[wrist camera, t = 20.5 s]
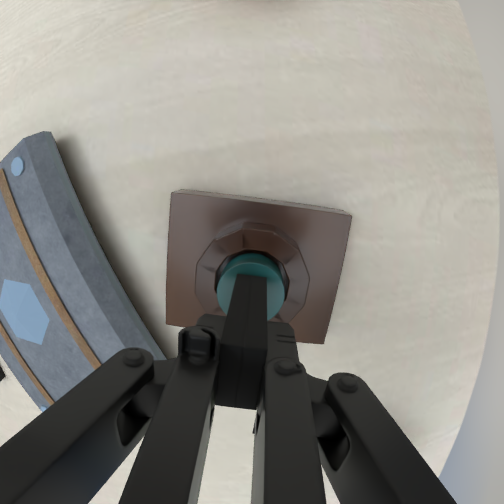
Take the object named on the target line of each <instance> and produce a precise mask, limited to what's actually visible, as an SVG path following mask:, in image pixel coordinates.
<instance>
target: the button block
mask: <svg viewBox="0 0 504 504" xmlns="http://www.w3.org/2000/svg"><path fill="white" fill-rule="evenodd" d="M351 219H352V216H351V215H350V214H348V213H347V212H345V211H343V210H338V209H331V208H325V207H319V206H312V205H305V204H298V203H291V202H284V201H277V200H269V199H262V198H254V197H246V196H238V195H229V194H220V193H211V192H202V191H192V190H182V189H181V190H178V191H175V192H172V193H171V203H170V216H169V232H168V252H167V279H166V324H168V325H174V326H179V327H185V328H186V327H190V326H195V325H196V322H197V320H198V318H199V317H201V316H202V315H204V314H205V313H206V314H212V315H219V316H227V315H226V314H225V313H224V312H223V310H222V309H221V307H220V305H219V303H218V300H217V286H218V283H219V280H220V277H221V275H222V272H223V270H224V268H225V266H226V265H227V264H228V263H229V262H230V261H231V260H232V259H234V258H235V257H237V256H239V255H242V254H247V253H256V254H261V255H264V256H266V257H268V258H269V259H271V260H272V261H273V262H274V263H275V264H276V265H277V266H278V268H279V269H280V271H281V274H282V277H283V284H284V291H285V297H284V302H283V305H282V307H281V309H280V310H279V312H278V313H277V314H276V315H275V316H274V317H273V318H271V319H270V320H268V321H273V322H282V323H289V325H290V326H291V327H292V328H293V329H294V333H295V339H296V342H302V343H313V344H324V341H325V337H326V333H327V329H328V326H329V322H330V318H331V314H332V309H333V305H334V301H335V297H336V293H337V288H338V284H339V279H340V275H341V270H342V266H343V261H344V256H345V251H346V246H347V241H348V236H349V230H350V225H351Z"/></svg>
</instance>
